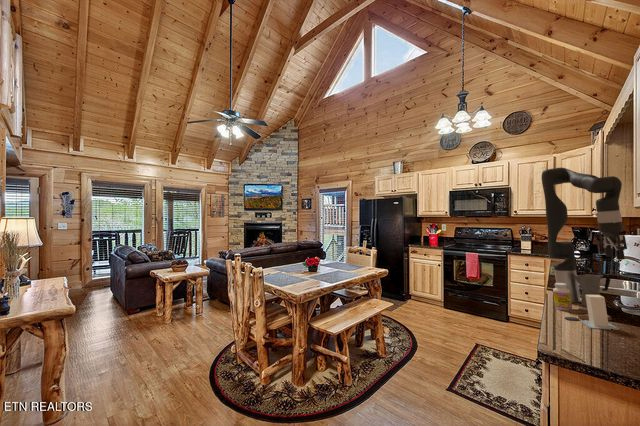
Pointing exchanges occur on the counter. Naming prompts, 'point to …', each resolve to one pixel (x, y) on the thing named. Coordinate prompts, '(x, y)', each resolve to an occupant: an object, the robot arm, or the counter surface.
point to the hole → (572, 318)
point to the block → (597, 310)
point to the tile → (599, 326)
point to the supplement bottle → (562, 297)
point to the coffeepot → (591, 284)
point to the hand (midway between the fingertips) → (615, 258)
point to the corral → (583, 312)
